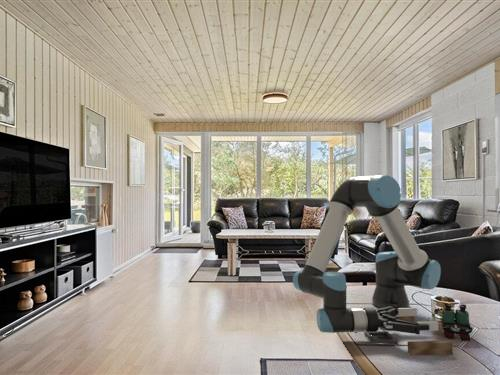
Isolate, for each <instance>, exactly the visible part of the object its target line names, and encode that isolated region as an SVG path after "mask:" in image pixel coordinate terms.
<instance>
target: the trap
mask: <svg viewBox="0 0 500 375" xmlns="http://www.w3.org/2000/svg"><path fill="white" fill-rule="evenodd" d="M363 334H365V335H366V336H367V337H368V338H367V337H366V336H365V335H364V336H365V337H366V338H367V339H368V341H370V343H371V344H372V343H397V344H398V340H397V339H396V338H395V337H394V336H393V335H392V334H391V333H390V331H387V330H383V331H381V330H378V331H376V332H366V331H364V332H363ZM371 335H372V336H371Z"/></svg>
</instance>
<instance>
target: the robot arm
mask: <svg viewBox="0 0 500 375" xmlns="http://www.w3.org/2000/svg"><path fill="white" fill-rule="evenodd" d="M401 198H402V193H401V187H400V184H399V182H398V181H397V180H396V178H394V177H393V176H390V175H388V174H387V175H386V174H374V175H362V176H361V175H359V176H358V175H356V176H351V177H349V178H347V179H346V180H344V181H343V182H342V183H341V184H340V185H339V186H338V187H337V189H336V190H335V191H334V193H333V194H332V196H331V198H330V200H329V203H328V206H329V209H328V211H327V213H326V216H325V219H324V221H323V223H322V225H321V228H320V230H319V232H318V235H317V237H316V239H315V242H314V244H313V246H312V248H311V251H310V253H309V256H308V258H307V260H306V263H305V265H304V267H303V269H299V270H297V271H296V272H295V273H294V275H293V277H292V284H293V286H294V289H296V290H299V292H300V291H301V292H302V293H304V294H309V295H311V296H315V297H318V298H321V299H322V300H323V306H322V308H318V310H316V326H317V328H318V330H319V332H321V333H330V334H331V333H332V334H334V333H336V334H339V333H354V334H357V333H364V332H376V331H379V328H380V326H382V327H381V328H385V331H387V332H399V333H405V334H414V335H420V333H421V332H435V331H436V332H437V331H439V322H438V321H437V320H433V321H432V320H431V321H428V320H427V321H416V322H415V321H414V322H409V321H404V320H399V319H397V318H396V317H395V316H397V315H398V316H399V317H400V316H414V317H418V313H417V312H418V308H417V307H410V300H409V297H408V294H407V291H406V288H405V286H410V287H414V288H418V289H421V290H429V291H430V290H434V289H436V287H437V286H438V284H439V281H440V279H441V273H442V272H441V271H442V270H441V264H440V263H439V262H438V260H435V259H430V256H428V254H427V253H426V251H425V250H424V249H420V247H419V245H418V244H417V242H416V240H415V238H414V236H413V234H412V232H411V231H410V229H409V227H408V225H407V221H406V220H405V218H404V216H403V215H402V212H401V211H400V210H399V206H400V201H401ZM359 207H363V208H365V209H366V211H367V212H368V214H369V216H371V217H372V218H376V220H377V222H378V224H379V225H380V228H381V229H382V231H383V232H384V234H385V237H386V238H387V240H388V242H389V243H390V245H391V247H392V249H393V251H383V252H378V253H376V255H375V261H374V262H375V289H374V292H373V295H372V298H371V302H372V303H373V304H374V305H375V307H376V306H377V307H376V308H377V309H376V308H375V307H363V308H361V307H351V308H350V307H349V308H347V287H348V286H347V278H346V275H345V274H344V272H340V271H326V270H327V268H328V266H329V263H330V261H331V258H332V256H333V253H334V251H335V249H336V246H337V244H338V241H339V239H340V237H341V234H342V232H343V229H344V227H345V224H346V222H347V220H348V218H349V216H351V215H353V213H354V210H355V209H356V208H359ZM373 304H372V305H373ZM374 305H373V306H374Z"/></svg>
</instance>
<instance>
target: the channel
mask: <svg viewBox="0 0 500 375" xmlns="http://www.w3.org/2000/svg"><path fill="white" fill-rule="evenodd" d="M395 317H396V318H397V319H399V320H404V321H409V322H414V323H415V316H400V317H399V316H398V314H397V316H395ZM453 351H454V350H453V342H452V341H450V340H422V341H421V340H420V341H419V340H417V341H416V340H415V341H414V340H413V341H407V354H408V353H409V354H410V355H409V354H408V355H409V356H434V354H437V355H438V354H439V355H438V356H441V354H442V355H443V354H444V355H453V354H454V353H453ZM437 355H436V356H437ZM444 355H443V356H444Z"/></svg>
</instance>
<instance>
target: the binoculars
mask: <svg viewBox="0 0 500 375" xmlns="http://www.w3.org/2000/svg"><path fill="white" fill-rule="evenodd" d="M444 307H445V308H442V318H441V327H442V330H443V337H445V338H447V339H449V340H454V339H455V335H458V337H459V340H460V341H464V342H468V341H470V340H471V335H470V334H472V332H473V330H474V328H473V327H472V326H471V324H470V313H469V311H467V310H466V309H467V304H460V305H459V306H458V307H459V309H457V308H456V309H453V308H452V305H451V304H450V303H448V302H444ZM455 326H456V328H457V329H459V330H453V329H455Z"/></svg>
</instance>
